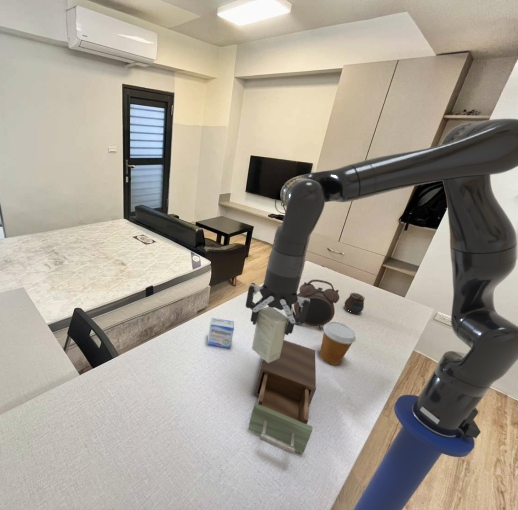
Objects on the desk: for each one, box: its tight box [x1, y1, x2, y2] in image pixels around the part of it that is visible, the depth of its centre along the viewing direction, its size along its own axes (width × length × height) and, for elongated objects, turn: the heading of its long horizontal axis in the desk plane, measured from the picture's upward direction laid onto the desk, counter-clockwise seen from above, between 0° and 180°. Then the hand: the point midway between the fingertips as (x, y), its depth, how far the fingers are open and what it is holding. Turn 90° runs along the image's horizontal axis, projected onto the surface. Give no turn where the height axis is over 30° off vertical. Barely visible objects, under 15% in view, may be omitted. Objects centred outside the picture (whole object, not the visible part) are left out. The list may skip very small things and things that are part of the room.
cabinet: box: [253, 339, 317, 410], centre depth 80 cm, size 16×14×10 cm
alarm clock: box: [293, 279, 340, 331], centre depth 107 cm, size 15×7×20 cm, turn 72°
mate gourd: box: [344, 292, 366, 315], centre depth 121 cm, size 7×8×10 cm
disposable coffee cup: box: [319, 321, 357, 366], centre depth 92 cm, size 10×10×12 cm
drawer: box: [247, 373, 313, 455], centre depth 67 cm, size 19×13×8 cm, turn 155°
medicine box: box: [207, 317, 235, 349], centre depth 95 cm, size 8×4×9 cm, turn 81°
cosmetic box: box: [251, 306, 289, 363], centre depth 69 cm, size 6×4×12 cm
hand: (270, 327), depth 69 cm, fingers closed on cosmetic box, 7 cm apart
